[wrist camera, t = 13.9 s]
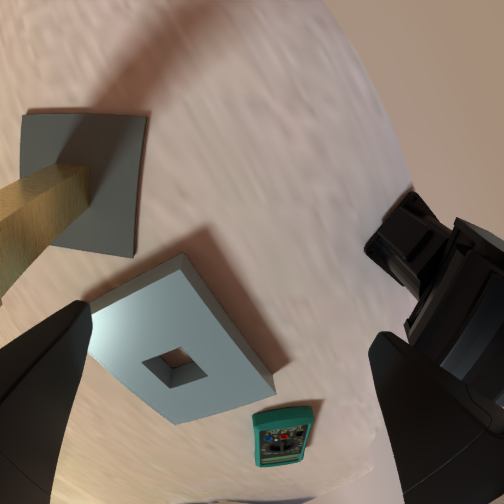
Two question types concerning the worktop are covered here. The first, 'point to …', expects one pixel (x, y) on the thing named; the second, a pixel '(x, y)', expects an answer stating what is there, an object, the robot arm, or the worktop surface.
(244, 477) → the worktop surface
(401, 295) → the worktop surface
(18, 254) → the brass key
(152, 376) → the block
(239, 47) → the worktop surface
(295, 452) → the digital multimeter
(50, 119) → the rubber mat
